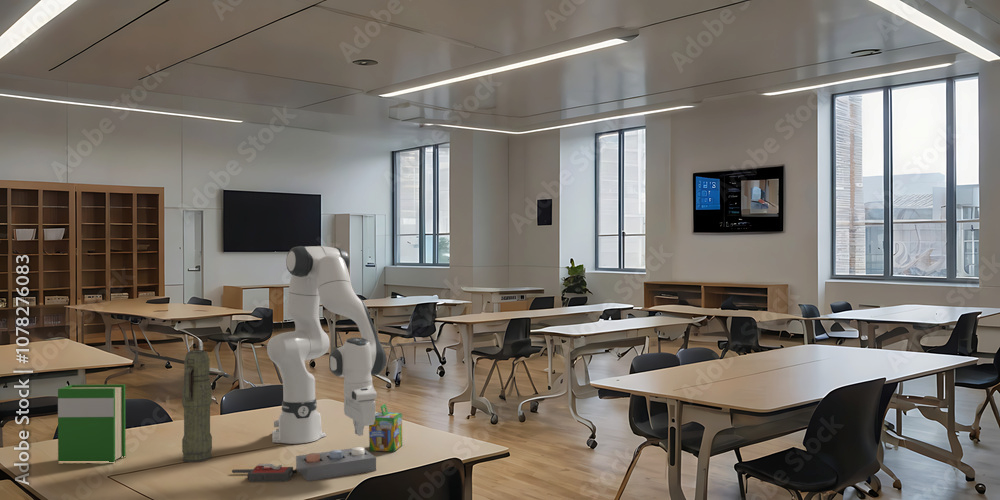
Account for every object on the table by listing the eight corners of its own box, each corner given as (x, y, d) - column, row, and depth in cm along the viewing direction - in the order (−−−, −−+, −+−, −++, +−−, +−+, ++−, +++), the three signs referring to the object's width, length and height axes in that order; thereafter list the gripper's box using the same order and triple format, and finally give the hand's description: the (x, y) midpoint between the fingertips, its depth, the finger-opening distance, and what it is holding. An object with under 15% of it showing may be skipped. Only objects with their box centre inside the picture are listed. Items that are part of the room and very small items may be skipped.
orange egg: (304, 464, 221) (304, 454, 221) (318, 462, 223) (318, 452, 223) (308, 467, 217) (308, 457, 217) (321, 465, 219) (321, 455, 219)
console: (296, 468, 225) (296, 455, 225) (361, 459, 235) (361, 447, 235) (307, 481, 212) (307, 467, 212) (376, 470, 222) (376, 457, 222)
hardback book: (125, 457, 239) (125, 384, 239) (113, 463, 231) (113, 388, 231) (71, 457, 238) (71, 384, 239) (58, 464, 231) (58, 388, 231)
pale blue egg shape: (327, 460, 224) (327, 451, 224) (340, 459, 226) (340, 449, 226) (331, 464, 221) (331, 454, 221) (344, 462, 223) (344, 452, 223)
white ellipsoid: (349, 457, 228) (349, 448, 228) (362, 456, 230) (362, 446, 230) (353, 460, 224) (353, 451, 224) (366, 459, 226) (366, 449, 226)
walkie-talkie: (299, 473, 221) (233, 474, 221) (299, 459, 221) (233, 460, 221) (291, 482, 212) (222, 483, 212) (291, 467, 212) (222, 468, 212)
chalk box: (394, 452, 243) (394, 408, 243) (368, 451, 245) (368, 407, 245) (403, 445, 252) (403, 402, 252) (378, 444, 254) (378, 401, 254)
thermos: (175, 463, 231) (175, 353, 231) (191, 453, 243) (191, 348, 243) (202, 463, 231) (202, 353, 231) (218, 453, 243) (217, 348, 243)
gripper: (338, 386, 235) (339, 429, 234) (358, 396, 217) (359, 442, 216) (357, 384, 238) (358, 427, 237) (378, 394, 220) (379, 439, 220)
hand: (359, 434), depth 227 cm, fingers closed
